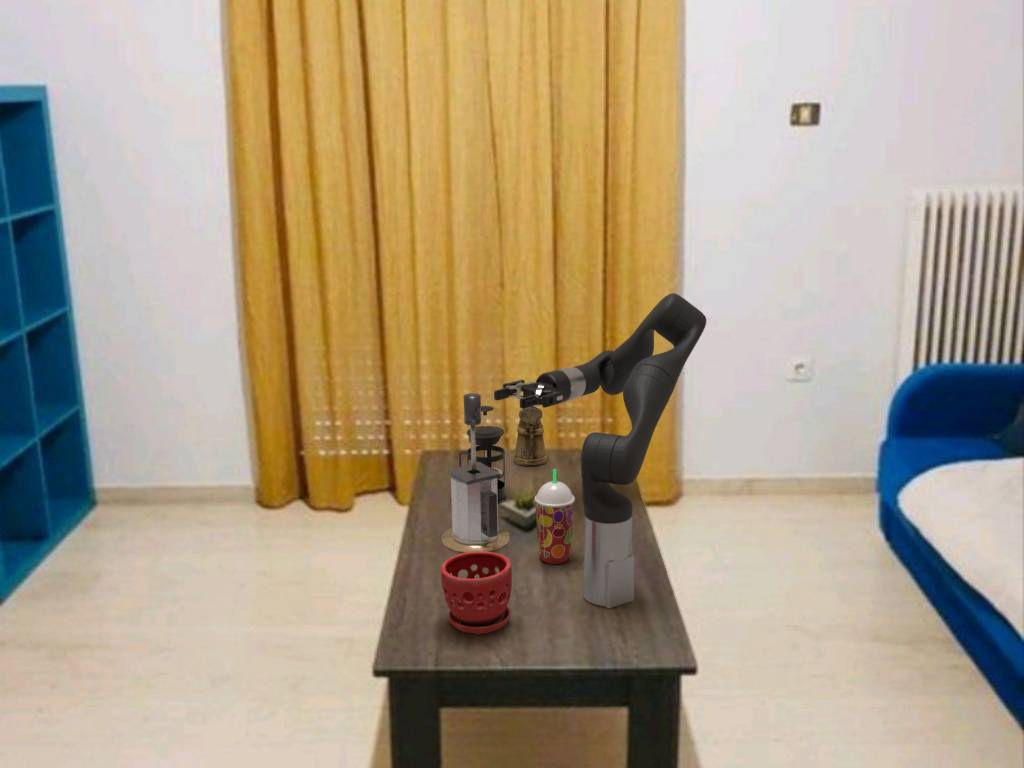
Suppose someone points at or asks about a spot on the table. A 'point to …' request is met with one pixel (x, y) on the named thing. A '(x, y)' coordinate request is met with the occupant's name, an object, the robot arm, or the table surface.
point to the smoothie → (554, 521)
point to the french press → (488, 449)
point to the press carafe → (474, 511)
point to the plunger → (472, 421)
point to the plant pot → (477, 591)
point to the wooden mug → (530, 438)
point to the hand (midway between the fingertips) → (507, 399)
